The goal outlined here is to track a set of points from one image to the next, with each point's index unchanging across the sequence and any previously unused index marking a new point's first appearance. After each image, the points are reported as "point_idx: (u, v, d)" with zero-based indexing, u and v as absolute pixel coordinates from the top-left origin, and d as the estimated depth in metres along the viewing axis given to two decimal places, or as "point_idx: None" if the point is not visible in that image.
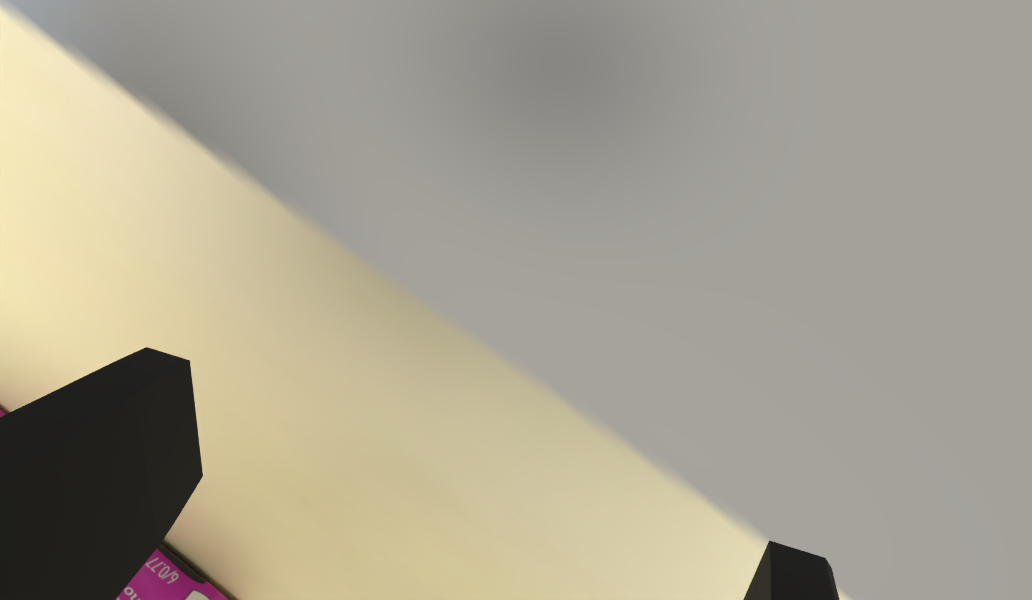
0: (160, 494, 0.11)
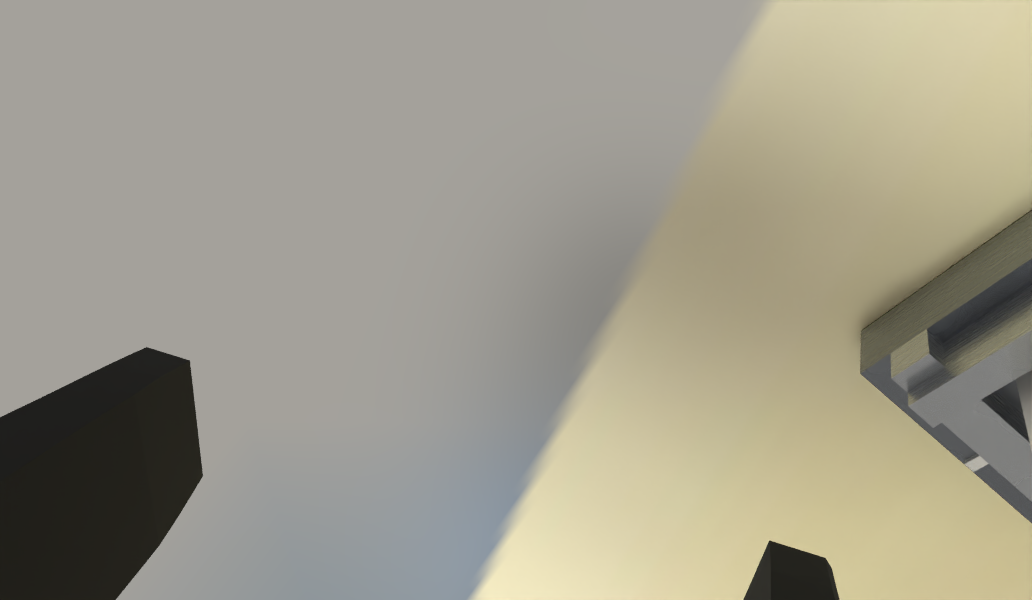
0: (160, 494, 0.11)
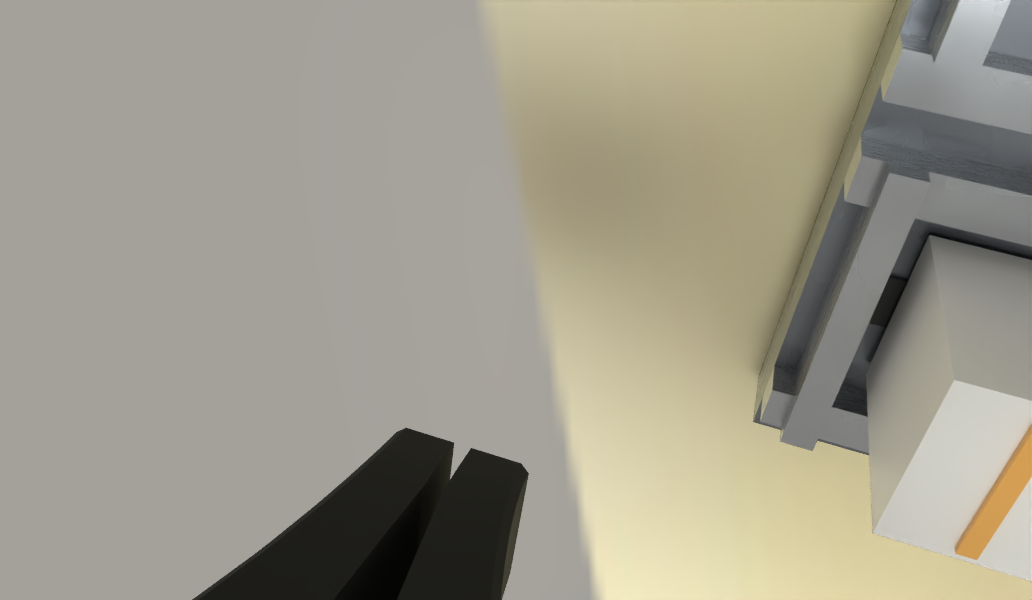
0: None
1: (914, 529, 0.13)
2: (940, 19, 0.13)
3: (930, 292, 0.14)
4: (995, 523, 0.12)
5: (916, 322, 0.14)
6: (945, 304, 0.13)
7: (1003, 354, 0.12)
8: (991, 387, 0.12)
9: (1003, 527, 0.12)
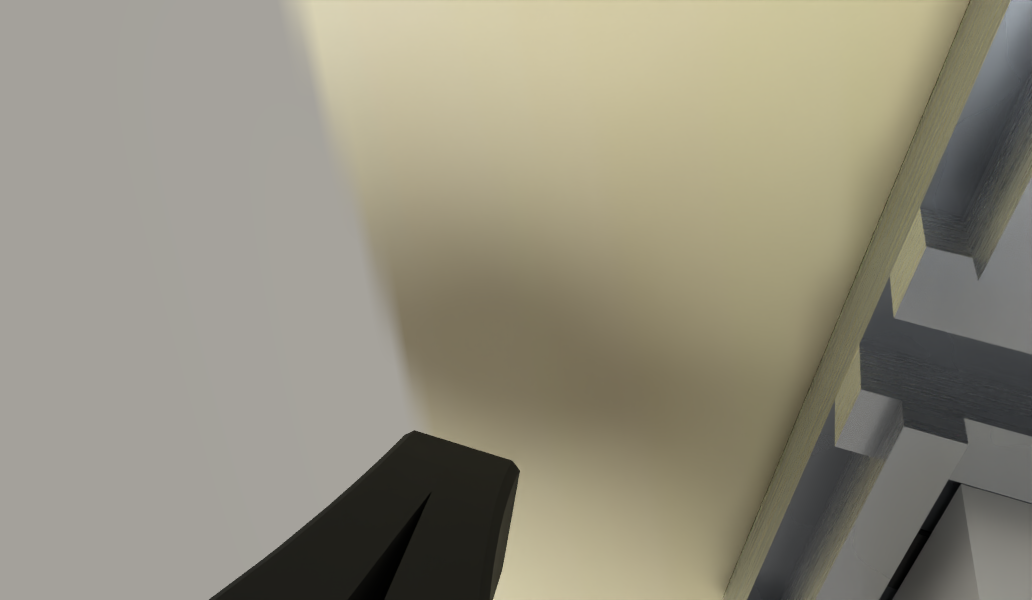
0: None
1: None
2: (986, 199, 0.08)
3: (966, 599, 0.09)
4: None
5: None
6: None
7: None
8: None
9: None
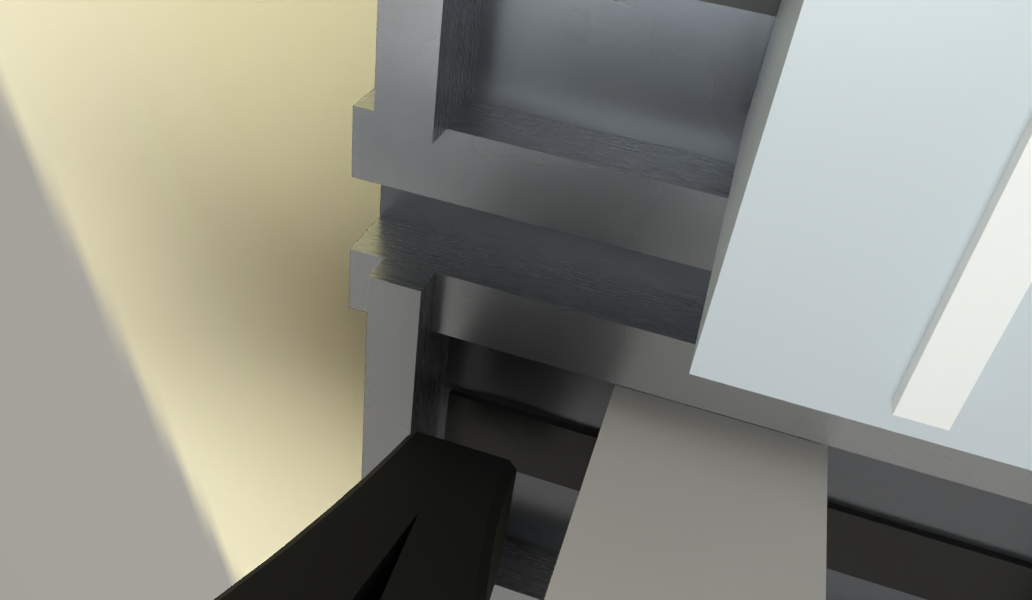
0: None
1: None
2: None
3: None
4: None
5: None
6: (578, 515, 0.09)
7: None
8: None
9: None
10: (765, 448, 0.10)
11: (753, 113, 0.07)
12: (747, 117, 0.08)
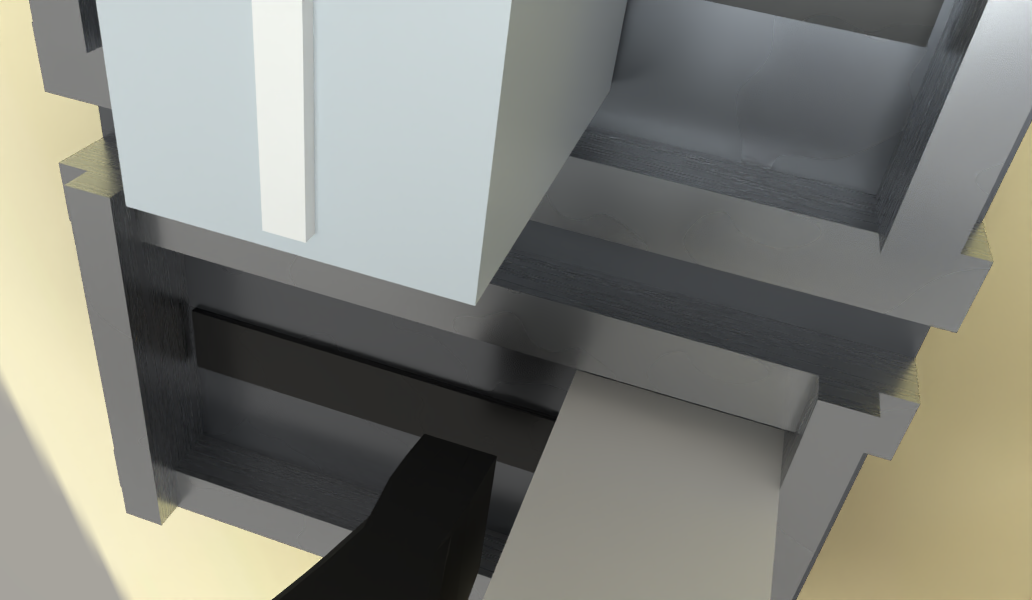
0: (459, 596, 0.10)
1: None
2: None
3: None
4: None
5: None
6: (531, 496, 0.09)
7: (574, 588, 0.08)
8: None
9: None
10: (722, 433, 0.10)
11: None
12: None
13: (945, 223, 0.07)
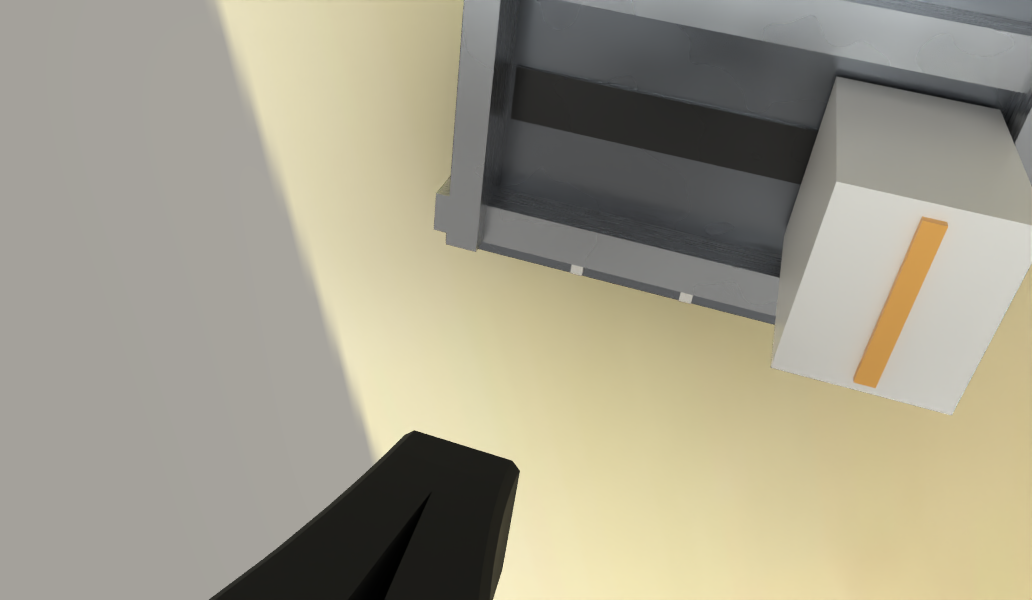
0: None
1: (811, 359, 0.13)
2: None
3: (831, 123, 0.13)
4: (890, 344, 0.12)
5: (819, 157, 0.14)
6: (841, 127, 0.13)
7: (894, 164, 0.12)
8: (875, 188, 0.11)
9: (899, 348, 0.12)
10: (956, 107, 0.14)
11: None
12: None
13: None
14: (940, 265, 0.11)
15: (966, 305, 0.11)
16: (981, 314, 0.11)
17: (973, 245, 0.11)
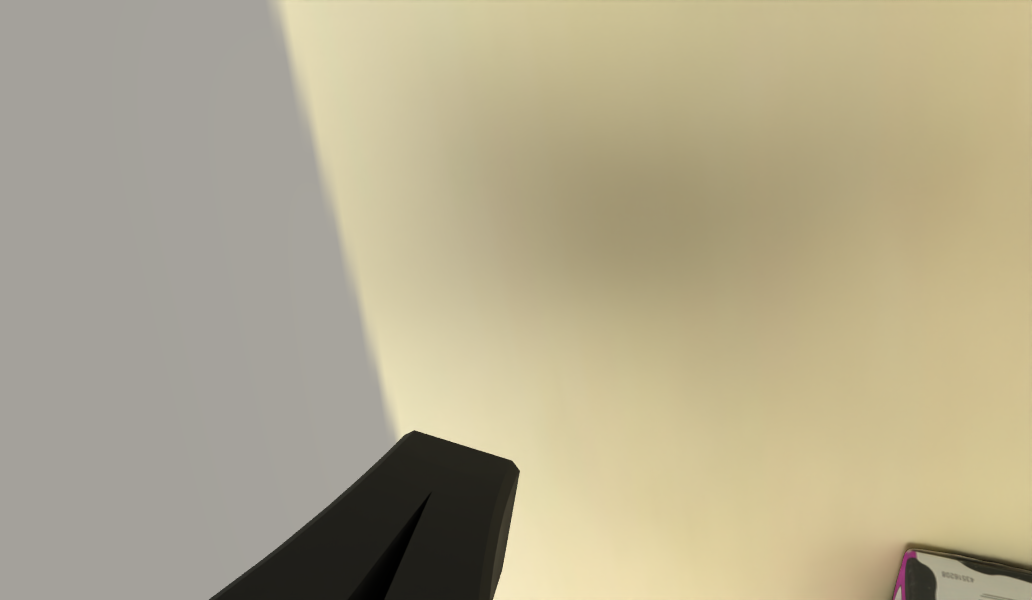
0: None
1: None
2: None
3: None
4: None
5: None
6: None
7: None
8: None
9: None
10: None
11: None
12: None
13: None
14: None
15: None
16: None
17: None
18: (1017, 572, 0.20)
